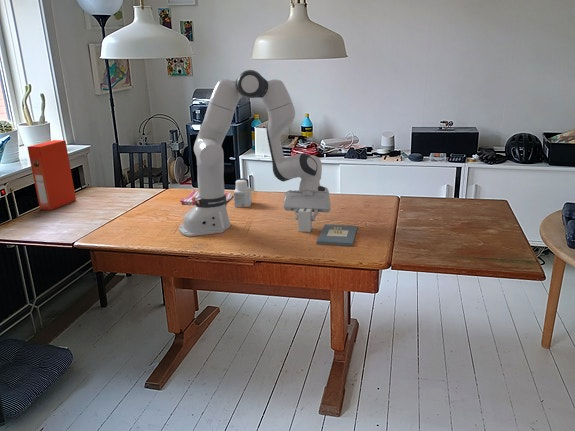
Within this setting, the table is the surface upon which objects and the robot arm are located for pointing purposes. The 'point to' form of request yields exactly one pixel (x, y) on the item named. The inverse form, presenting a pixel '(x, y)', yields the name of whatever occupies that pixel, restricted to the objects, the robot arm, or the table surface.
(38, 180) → the file binder
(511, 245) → the table surface
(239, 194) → the container
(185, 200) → the dish towel
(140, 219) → the table surface
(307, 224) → the block
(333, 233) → the header board
